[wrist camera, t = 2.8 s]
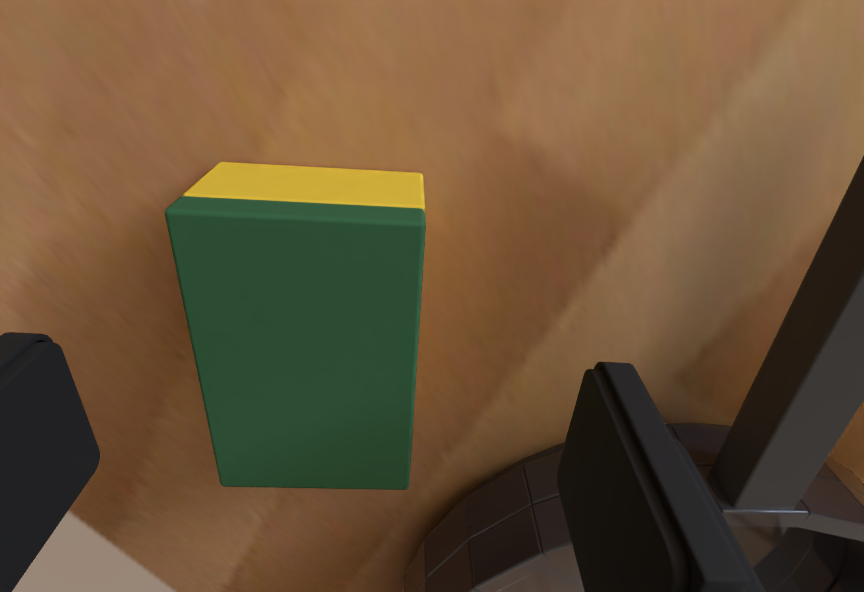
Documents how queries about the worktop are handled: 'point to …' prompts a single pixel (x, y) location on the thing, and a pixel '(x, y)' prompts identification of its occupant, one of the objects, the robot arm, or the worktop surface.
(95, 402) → the worktop surface
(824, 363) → the pan handle
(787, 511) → the pan
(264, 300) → the sponge
